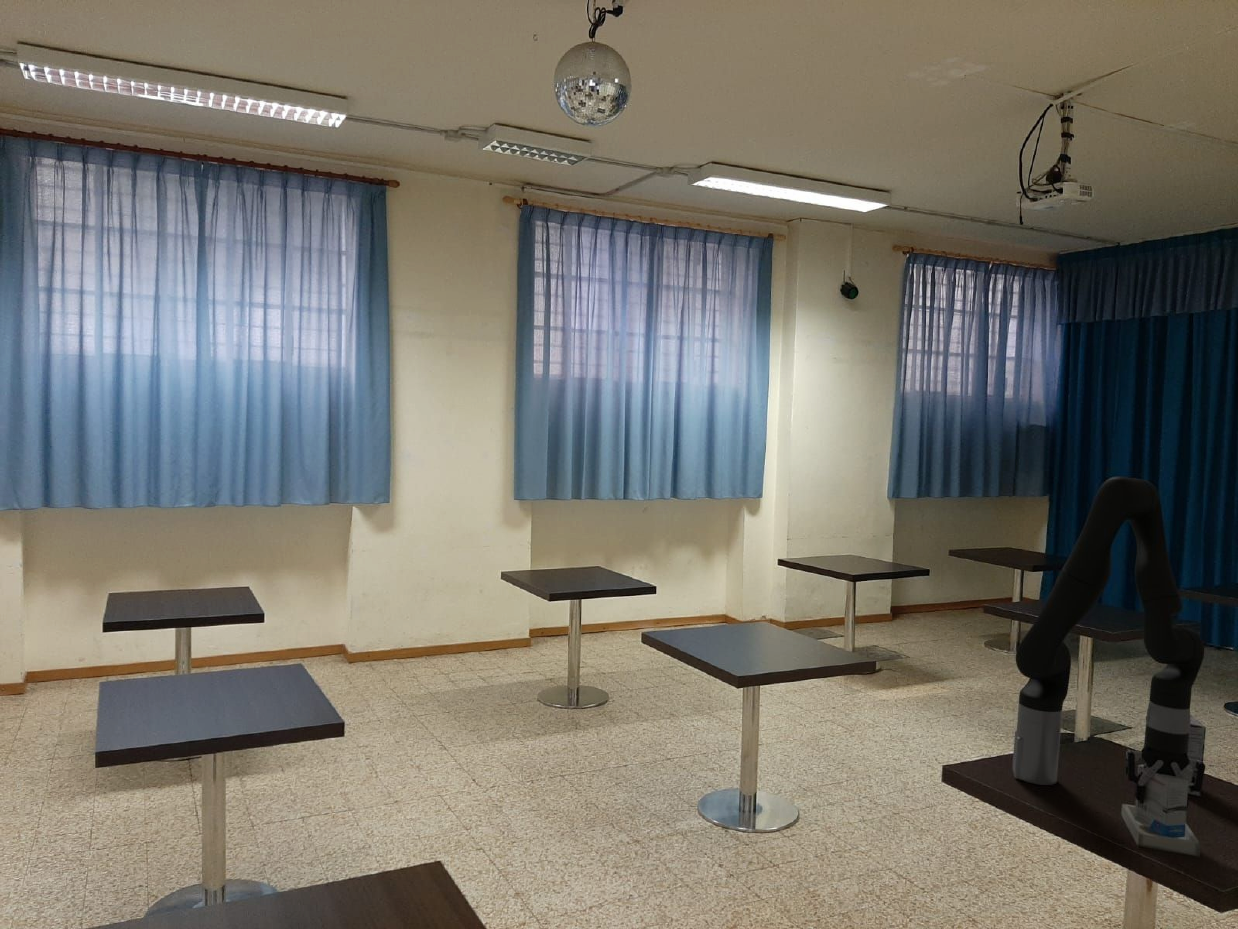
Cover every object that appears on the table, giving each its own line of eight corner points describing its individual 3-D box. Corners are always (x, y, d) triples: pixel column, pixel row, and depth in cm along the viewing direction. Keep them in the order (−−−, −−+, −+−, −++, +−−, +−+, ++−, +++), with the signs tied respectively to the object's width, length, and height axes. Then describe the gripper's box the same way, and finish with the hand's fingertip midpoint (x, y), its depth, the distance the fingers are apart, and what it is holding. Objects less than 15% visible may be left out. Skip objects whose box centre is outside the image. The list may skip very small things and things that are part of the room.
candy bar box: (1157, 775, 212) (1163, 708, 211) (1180, 777, 211) (1186, 710, 210) (1177, 794, 201) (1183, 723, 200) (1201, 797, 200) (1207, 726, 199)
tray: (1137, 845, 174) (1138, 833, 174) (1121, 815, 188) (1122, 803, 188) (1199, 856, 171) (1200, 844, 171) (1178, 824, 185) (1179, 813, 185)
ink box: (1185, 838, 176) (1191, 780, 175) (1164, 839, 175) (1169, 781, 174) (1153, 818, 184) (1158, 763, 184) (1132, 819, 183) (1137, 763, 183)
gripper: (1131, 726, 177) (1125, 806, 178) (1214, 737, 173) (1207, 820, 174) (1123, 714, 184) (1116, 792, 185) (1202, 725, 180) (1195, 804, 181)
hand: (1160, 805), depth 179 cm, fingers closed on ink box, 6 cm apart
